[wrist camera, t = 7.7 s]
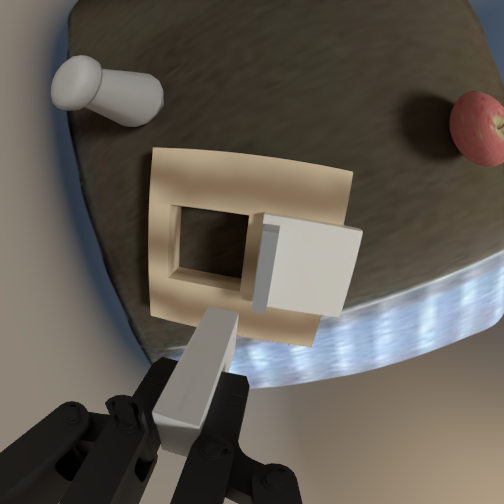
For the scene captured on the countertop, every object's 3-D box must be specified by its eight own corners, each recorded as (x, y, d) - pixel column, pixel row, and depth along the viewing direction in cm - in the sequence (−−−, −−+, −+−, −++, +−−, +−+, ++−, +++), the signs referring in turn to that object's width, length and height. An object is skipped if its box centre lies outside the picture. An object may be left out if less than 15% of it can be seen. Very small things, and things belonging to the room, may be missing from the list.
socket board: (166, 148, 26) (153, 147, 23) (346, 170, 24) (353, 171, 21) (161, 303, 32) (150, 315, 29) (310, 331, 30) (311, 347, 27)
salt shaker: (120, 125, 25) (32, 118, 13) (133, 78, 23) (52, 49, 11) (164, 132, 25) (79, 120, 13) (178, 81, 23) (104, 39, 11)
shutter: (265, 212, 23) (261, 220, 20) (360, 228, 23) (370, 239, 19) (252, 299, 26) (247, 318, 23) (337, 312, 26) (343, 332, 22)
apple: (428, 139, 22) (471, 136, 14) (445, 86, 19) (486, 70, 12) (473, 176, 22) (518, 185, 14) (489, 124, 19) (532, 122, 12)
